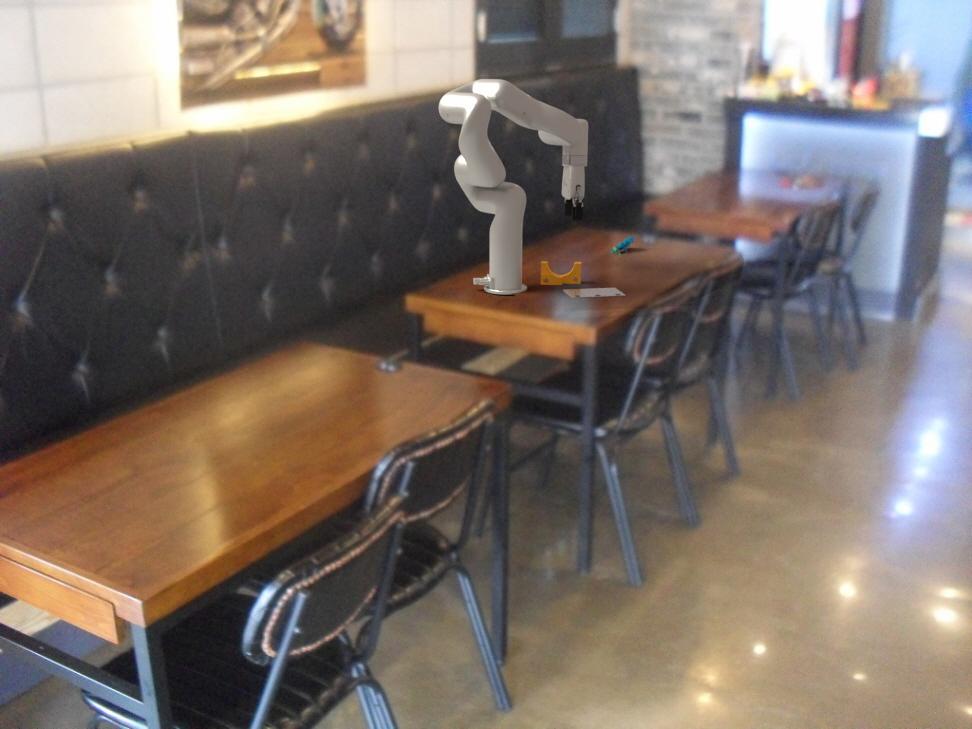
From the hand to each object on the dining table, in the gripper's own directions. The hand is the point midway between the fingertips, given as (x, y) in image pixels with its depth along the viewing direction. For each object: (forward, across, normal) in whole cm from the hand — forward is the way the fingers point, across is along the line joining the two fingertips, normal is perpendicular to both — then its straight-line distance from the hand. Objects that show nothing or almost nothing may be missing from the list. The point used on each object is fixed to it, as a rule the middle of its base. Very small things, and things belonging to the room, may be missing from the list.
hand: (573, 217), depth 323 cm
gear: (+19, -27, +22) cm, 40 cm away
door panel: (+18, +25, 0) cm, 31 cm away
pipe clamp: (+19, +10, -6) cm, 22 cm away
